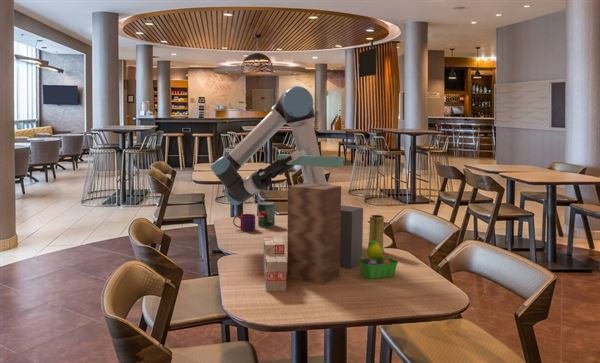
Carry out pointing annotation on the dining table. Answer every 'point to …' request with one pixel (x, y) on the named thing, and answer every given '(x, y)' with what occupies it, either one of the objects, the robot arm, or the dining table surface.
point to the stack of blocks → (274, 264)
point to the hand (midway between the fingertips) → (302, 152)
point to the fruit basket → (377, 262)
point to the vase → (376, 229)
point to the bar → (315, 160)
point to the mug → (246, 222)
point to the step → (351, 236)
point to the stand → (314, 232)
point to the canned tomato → (266, 214)
